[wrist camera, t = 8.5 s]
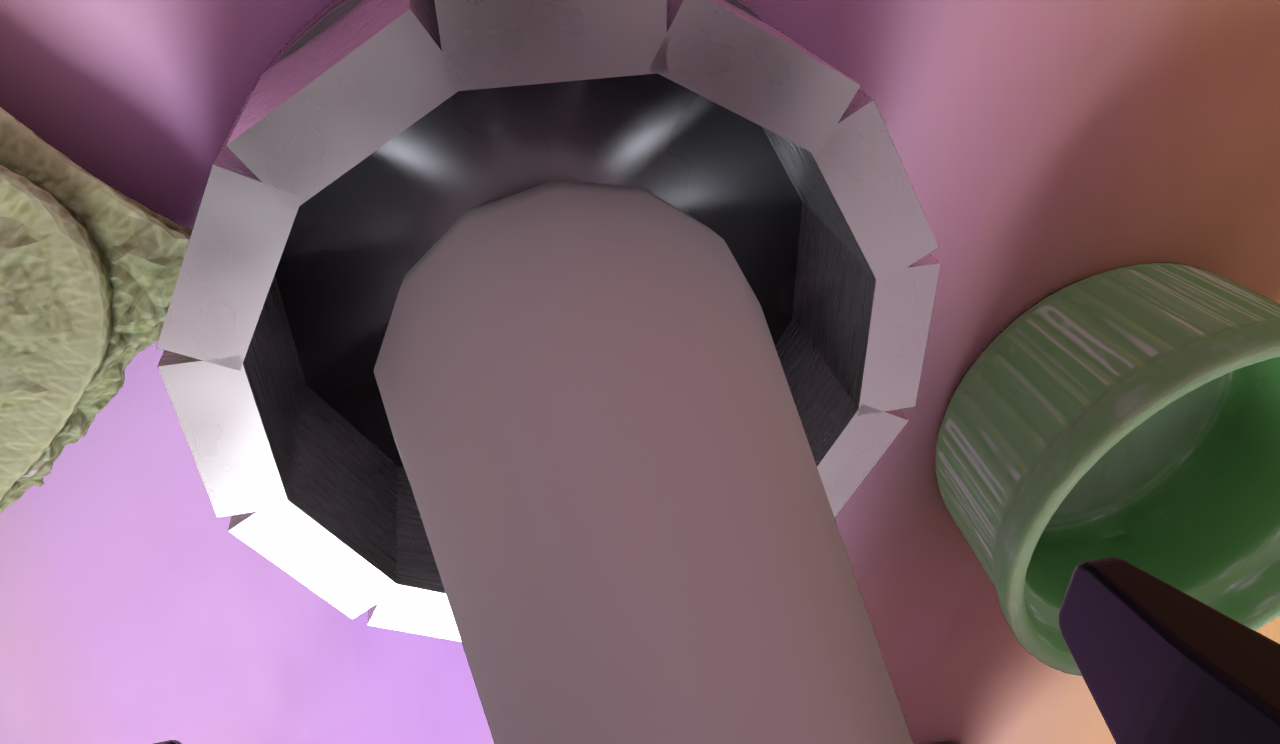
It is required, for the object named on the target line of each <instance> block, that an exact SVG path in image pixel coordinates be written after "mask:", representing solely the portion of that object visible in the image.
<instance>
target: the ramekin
mask: <svg viewBox="0 0 1280 744" xmlns="http://www.w3.org/2000/svg"><path fill="white" fill-rule="evenodd" d="M935 471H936V477H937V482H938V488H939V491H940V494H941V497H942V499H943V501H944V504H945V506H946V508H947V509H948V511H949V513H950V515H951V517H952V518H953V520H954V522H955V523H956V525H957V526H958V528H959V530H960V531H961V533H962V534H963V536H964V538H965V539H966V541H967V543H968V544H969V546H970V547H971V549H972V551H973V552H974V554H975V555H976V557H977V559H978V560H979V562H980V564H981V565H982V567H983V569H984V570H985V572H986V573H987V575H988V577H989V578H990V580H991V582H992V583H993V585H994V587H995V589H996V590H997V596H998V601H999V604H1000V607H1001V610H1002V612H1003V614H1004V617H1005V619H1006V621H1007V623H1008V625H1009V627H1010V629H1011V631H1012V632H1013V634H1014V635H1015V637H1016V639H1017V640H1018V641H1019V643H1020V644H1021V645H1022V646H1023V647H1024V648H1025V649H1026V651H1027V652H1029V653H1030V654H1031V655H1032V656H1034V657H1035V658H1036V659H1038V660H1039V661H1040V662H1042V663H1044V664H1046V665H1048V666H1050V667H1051V668H1054V669H1057V670H1060V671H1062V672H1065V673H1068V674H1073V675H1080V676H1082V674H1081V672H1080V670H1079V668H1078V666H1077V664H1076V663H1075V661H1074V659H1073V657H1072V655H1071V653H1070V651H1069V649H1068V647H1067V645H1066V643H1065V641H1064V639H1063V636H1062V634H1061V630H1060V627H1059V611H1060V608H1061V605H1062V602H1063V599H1064V596H1065V593H1066V590H1067V587H1068V585H1069V582H1070V579H1071V576H1072V573H1073V571H1074V569H1075V567H1076V566H1077V565H1078V564H1080V563H1082V562H1085V561H1090V560H1095V559H1100V558H1105V557H1116V558H1120V559H1122V560H1125V561H1127V562H1129V563H1131V564H1132V565H1134V566H1136V567H1138V568H1140V569H1142V570H1144V571H1145V572H1147V573H1149V574H1151V575H1153V576H1155V577H1156V578H1158V579H1160V580H1162V581H1164V582H1166V583H1168V584H1169V585H1171V586H1173V587H1175V588H1177V589H1179V590H1180V591H1182V592H1184V593H1186V594H1188V595H1190V596H1192V597H1193V598H1195V599H1197V600H1199V601H1201V602H1203V603H1204V604H1206V605H1208V606H1210V607H1212V608H1214V609H1216V610H1217V611H1219V612H1221V613H1223V614H1225V615H1227V616H1228V617H1230V618H1232V619H1234V620H1236V621H1238V622H1240V623H1241V624H1243V625H1245V626H1247V627H1249V628H1251V629H1252V630H1254V631H1255V630H1257V629H1259V628H1261V627H1262V626H1264V625H1265V624H1266V623H1268V622H1270V621H1272V620H1274V619H1275V618H1277V617H1278V616H1280V304H1278V303H1276V302H1274V301H1272V300H1270V299H1268V298H1266V297H1264V296H1262V295H1260V294H1257V293H1255V292H1253V291H1251V290H1249V289H1247V288H1245V287H1243V286H1241V285H1239V284H1237V283H1235V282H1233V281H1230V280H1228V279H1226V278H1224V277H1221V276H1219V275H1217V274H1214V273H1212V272H1210V271H1206V270H1202V269H1197V268H1194V267H1192V266H1189V265H1182V264H1172V263H1151V264H1137V265H1132V266H1127V267H1122V268H1117V269H1114V270H1110V271H1107V272H1103V273H1100V274H1097V275H1094V276H1091V277H1088V278H1086V279H1083V280H1081V281H1079V282H1076V283H1074V284H1071V285H1069V286H1067V287H1065V288H1063V289H1061V290H1059V291H1057V292H1055V293H1053V294H1051V295H1049V296H1048V297H1046V298H1045V299H1043V300H1042V301H1040V302H1039V303H1037V304H1036V305H1034V306H1033V307H1031V308H1030V309H1029V310H1027V311H1026V312H1025V313H1024V314H1022V315H1020V316H1019V317H1018V318H1017V319H1016V320H1014V321H1013V322H1012V323H1011V324H1010V325H1009V326H1008V327H1007V328H1006V329H1005V330H1004V331H1003V332H1002V333H1000V334H999V335H998V336H997V337H996V338H995V339H994V340H993V341H992V342H991V343H990V345H989V346H988V347H987V348H986V349H985V350H984V351H983V352H982V353H981V355H980V356H979V357H978V358H977V360H976V361H975V362H974V363H973V365H972V366H971V367H970V369H969V370H968V372H967V373H966V375H965V376H964V378H963V379H962V381H961V382H960V384H959V386H958V387H957V389H956V391H955V392H954V394H953V396H952V398H951V400H950V402H949V405H948V407H947V410H946V412H945V415H944V418H943V421H942V424H941V427H940V429H939V432H938V439H937V444H936V461H935Z"/></svg>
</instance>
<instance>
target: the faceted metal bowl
mask: <svg viewBox="0 0 1280 744" xmlns="http://www.w3.org/2000/svg"><path fill="white" fill-rule="evenodd" d="M860 86H861V85H860V84H858V83H857V82H855V81H854V80H852V79H851V78H849V77H848V76H846V75H845V74H843V73H842V72H840V71H839V70H837V69H836V68H834V67H833V66H831V65H830V64H828V63H827V62H825V61H824V60H822V59H821V58H819V57H818V56H816V55H815V54H813V53H811V52H810V51H808V50H807V49H805V48H804V47H802V46H801V45H799V44H798V43H796V42H795V41H793V40H792V39H790V38H789V37H787V36H786V35H784V34H783V33H781V32H780V31H778V30H776V29H774V28H773V27H771V26H769V25H767V24H766V23H764V22H763V21H762V20H761V19H760V18H759V17H757V16H756V15H755V14H754V13H753V12H752V11H751V10H749V9H748V8H746V7H745V6H743V5H742V4H740V3H739V2H738V1H736V0H333V1H332V2H331V3H329V4H328V5H327V6H326V7H325V8H324V9H323V10H321V11H320V12H319V13H318V14H317V15H316V16H315V17H314V18H312V19H311V20H310V21H309V22H308V23H307V24H306V25H305V26H303V27H302V28H301V29H300V30H299V31H298V32H297V33H296V34H295V36H294V37H293V38H292V39H291V40H290V42H289V43H288V44H287V45H286V46H285V48H284V49H283V50H282V51H281V52H280V54H279V55H278V56H277V57H276V58H275V60H274V61H273V62H272V63H271V64H270V66H269V67H268V69H267V70H266V72H265V73H263V74H262V75H261V77H260V79H259V81H258V83H257V85H256V87H255V89H254V91H250V93H249V95H248V97H247V99H246V100H245V102H244V104H243V106H242V108H241V110H240V112H239V114H238V116H237V118H236V120H235V122H234V124H233V126H232V128H231V130H230V132H229V134H228V136H227V138H226V140H225V142H224V144H223V145H222V147H221V149H220V151H219V153H218V155H217V157H216V159H215V161H214V163H213V165H212V169H211V172H210V175H209V178H208V182H207V185H206V188H205V191H204V195H203V198H202V201H201V204H200V208H199V211H198V214H197V217H196V221H195V224H194V227H193V230H192V234H191V237H190V240H189V243H188V247H187V250H186V253H185V256H184V260H183V263H182V266H181V269H180V273H179V276H178V279H177V282H176V286H175V289H174V292H173V295H172V299H171V302H170V305H169V308H168V312H167V315H166V318H165V321H164V325H163V328H162V331H161V334H160V338H159V341H158V344H157V347H156V348H160V349H163V350H164V352H163V355H162V357H161V359H160V362H159V364H158V366H157V367H158V369H159V372H160V374H161V377H162V380H163V382H164V385H165V387H166V390H167V392H168V395H169V397H170V400H171V402H172V405H173V407H174V410H175V412H176V415H177V418H178V420H179V423H180V425H181V428H182V430H183V433H184V435H185V438H186V440H187V443H188V445H189V448H190V450H191V453H192V455H193V458H194V461H195V463H196V466H197V468H198V471H199V473H200V476H201V478H202V481H203V483H204V486H205V488H206V491H207V493H208V496H209V498H210V501H211V504H212V506H213V509H214V511H215V514H216V516H217V518H220V517H226V516H232V517H231V521H230V525H229V529H228V531H229V532H230V533H232V534H233V535H234V536H236V537H237V538H239V539H240V540H241V541H243V542H244V543H246V544H247V545H248V546H250V547H251V548H253V549H254V550H256V551H257V552H258V553H260V554H261V555H263V556H264V557H265V558H267V559H268V560H270V561H271V562H272V563H274V564H275V565H277V566H278V567H280V568H281V569H282V570H284V571H285V572H287V573H288V574H289V575H291V576H292V577H294V578H295V579H296V580H298V581H299V582H301V583H302V584H304V585H305V586H306V587H308V588H309V589H311V590H312V591H313V592H315V593H316V594H318V595H319V596H320V597H322V598H323V599H325V600H326V601H328V602H329V603H330V604H332V605H333V606H335V607H336V608H337V609H339V610H340V611H342V612H343V613H344V614H346V615H347V616H349V617H350V618H352V619H353V618H355V617H357V616H358V615H360V614H361V613H363V612H365V611H366V610H368V625H370V626H375V627H381V628H387V629H392V630H398V631H404V632H409V633H415V634H421V635H426V636H432V637H438V638H444V639H449V640H455V641H461V639H460V636H459V633H458V629H457V626H456V623H455V620H454V617H453V614H452V611H451V608H450V605H449V602H448V599H447V596H446V593H445V589H444V586H443V583H442V580H441V577H440V574H439V571H438V568H437V565H436V562H435V559H434V556H433V553H432V549H431V546H430V543H429V540H428V537H427V534H426V531H425V528H424V525H423V522H422V519H421V516H420V513H419V509H418V506H417V503H416V500H415V497H414V494H413V491H412V488H411V485H410V482H409V480H408V477H407V474H406V471H405V468H404V466H403V463H402V460H401V457H400V455H399V452H398V449H397V446H396V443H395V440H394V437H393V434H392V430H391V427H390V424H389V420H388V417H387V414H386V411H385V407H384V404H383V401H382V397H381V394H380V391H379V387H378V384H377V381H376V378H375V374H374V368H375V364H376V361H377V358H378V355H379V352H380V349H381V346H382V343H383V339H384V336H385V333H386V330H387V327H388V324H389V321H390V318H391V314H392V311H393V308H394V305H395V302H396V299H397V296H398V292H399V290H400V287H401V284H402V281H403V279H404V276H405V275H406V273H407V272H408V271H409V270H410V269H411V268H412V267H413V266H414V265H415V264H416V263H417V262H418V261H419V260H420V259H421V258H422V257H423V256H424V255H425V253H426V252H427V251H428V250H429V249H430V248H431V247H432V246H433V245H434V244H435V243H436V242H437V241H438V240H439V239H440V238H441V237H442V236H443V234H444V233H445V232H446V231H447V230H448V229H449V228H450V227H451V226H452V225H453V224H454V223H455V222H456V221H457V220H458V219H459V218H460V217H461V216H462V214H463V213H464V212H466V211H468V210H470V209H472V208H474V207H476V206H478V205H480V204H482V203H485V202H487V201H494V200H500V199H503V198H506V197H509V196H512V195H514V194H517V193H520V192H523V191H525V190H528V189H531V188H534V187H537V186H539V185H542V184H545V183H548V182H551V181H566V182H581V183H596V184H610V185H625V186H640V187H643V188H644V189H646V190H648V191H649V192H651V193H653V194H654V195H656V196H658V197H659V198H661V199H662V200H664V201H666V202H667V203H669V204H671V205H672V206H674V207H676V208H677V209H679V210H681V211H682V212H684V213H686V214H687V215H689V216H691V217H692V218H694V219H696V220H697V221H699V222H701V223H702V224H704V225H706V226H707V227H709V228H710V229H711V230H713V231H714V232H715V233H716V234H718V235H719V236H720V237H721V238H723V239H724V240H725V242H726V244H727V246H728V248H729V249H730V251H731V253H732V255H733V256H734V258H735V260H736V262H737V264H738V265H739V267H740V269H741V271H742V273H743V274H744V276H745V278H746V280H747V282H748V283H749V285H750V287H751V289H752V290H753V292H754V294H755V296H756V298H757V299H758V301H759V303H760V305H761V308H762V311H763V313H764V316H765V319H766V322H767V325H768V328H769V331H770V334H771V336H772V339H773V342H774V345H775V348H776V351H777V354H778V357H779V359H780V362H781V365H782V368H783V371H784V374H785V377H786V379H787V382H788V385H789V388H790V391H791V394H792V397H793V400H794V402H795V405H796V408H797V411H798V414H799V417H800V420H801V423H802V425H803V428H804V431H805V434H806V437H807V440H808V443H809V446H810V448H811V451H812V454H813V457H814V460H815V463H816V466H817V469H818V471H819V474H820V477H821V480H822V483H823V486H824V489H825V492H826V494H827V497H828V500H829V503H830V506H831V509H832V512H833V515H834V517H836V515H837V514H838V513H839V511H840V510H841V509H842V508H843V506H844V505H845V504H846V502H847V501H848V500H849V498H850V497H851V496H852V494H853V493H854V492H855V490H856V489H857V488H858V487H859V485H860V484H861V483H862V481H863V480H864V479H865V477H866V476H867V475H868V473H869V472H870V471H871V469H872V468H873V467H874V466H875V464H876V463H877V462H878V460H879V459H880V458H881V456H882V455H883V454H884V452H885V451H886V450H887V448H888V447H889V446H890V445H891V443H892V442H893V441H894V439H895V438H896V437H897V435H898V434H899V433H900V431H901V430H902V429H903V427H904V426H905V425H906V424H907V422H908V419H907V418H906V417H905V416H904V414H903V413H902V412H901V410H900V409H904V408H910V407H915V405H916V399H917V394H918V388H919V383H920V377H921V371H922V366H923V360H924V355H925V349H926V343H927V338H928V332H929V327H930V321H931V316H932V310H933V304H934V299H935V293H936V288H937V282H938V276H939V271H940V265H941V263H940V262H939V261H938V260H937V259H935V258H934V257H933V256H932V255H931V254H930V252H932V251H934V250H935V249H937V248H938V247H939V245H938V243H937V241H936V239H935V236H934V234H933V232H932V230H931V227H930V225H929V223H928V221H927V218H926V216H925V214H924V212H923V209H922V207H921V205H920V203H919V200H918V198H917V196H916V194H915V191H914V189H913V187H912V185H911V182H910V180H909V178H908V175H907V173H906V171H905V169H904V166H903V164H902V162H901V160H900V157H899V155H898V153H897V151H896V148H895V146H894V144H893V142H892V139H891V137H890V135H889V133H888V130H887V128H886V126H885V124H884V121H883V119H882V117H881V115H880V112H879V110H878V108H877V106H876V103H875V101H874V99H872V98H871V97H869V96H868V95H866V94H865V93H863V92H862V91H860V90H859V88H860Z"/></svg>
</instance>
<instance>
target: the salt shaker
mask: <svg viewBox="0 0 1280 744" xmlns="http://www.w3.org/2000/svg"><path fill="white" fill-rule="evenodd" d="M374 374H375V378H376V381H377V384H378V387H379V391H380V394H381V397H382V401H383V404H384V407H385V411H386V414H387V417H388V420H389V424H390V427H391V430H392V434H393V437H394V440H395V443H396V446H397V449H398V452H399V455H400V457H401V460H402V463H403V466H404V468H405V471H406V474H407V477H408V480H409V482H410V485H411V488H412V491H413V494H414V497H415V500H416V503H417V506H418V509H419V513H420V516H421V519H422V522H423V525H424V528H425V531H426V534H427V537H428V540H429V543H430V546H431V549H432V553H433V556H434V559H435V562H436V565H437V568H438V571H439V574H440V577H441V580H442V583H443V586H444V589H445V593H446V596H447V599H448V602H449V605H450V608H451V611H452V614H453V617H454V620H455V623H456V626H457V629H458V633H459V636H460V639H461V642H462V645H463V648H464V651H465V654H466V657H467V660H468V663H469V666H470V670H471V673H472V676H473V679H474V682H475V685H476V688H477V691H478V694H479V697H480V700H481V703H482V706H483V710H484V713H485V716H486V719H487V722H488V725H489V728H490V731H491V734H492V737H493V740H494V743H495V744H913V741H912V739H911V736H910V733H909V730H908V727H907V724H906V721H905V718H904V716H903V713H902V710H901V707H900V704H899V701H898V698H897V695H896V693H895V690H894V687H893V684H892V681H891V678H890V675H889V672H888V670H887V667H886V664H885V661H884V658H883V655H882V652H881V650H880V647H879V644H878V641H877V638H876V635H875V632H874V629H873V627H872V624H871V621H870V618H869V615H868V612H867V609H866V606H865V604H864V601H863V598H862V595H861V592H860V589H859V586H858V583H857V581H856V578H855V575H854V572H853V569H852V566H851V563H850V560H849V558H848V555H847V552H846V549H845V546H844V543H843V540H842V537H841V535H840V532H839V529H838V526H837V523H836V520H835V517H834V515H833V512H832V509H831V506H830V503H829V500H828V497H827V494H826V492H825V489H824V486H823V483H822V480H821V477H820V474H819V471H818V469H817V466H816V463H815V460H814V457H813V454H812V451H811V448H810V446H809V443H808V440H807V437H806V434H805V431H804V428H803V425H802V423H801V420H800V417H799V414H798V411H797V408H796V405H795V402H794V400H793V397H792V394H791V391H790V388H789V385H788V382H787V379H786V377H785V374H784V371H783V368H782V365H781V362H780V359H779V357H778V354H777V351H776V348H775V345H774V342H773V339H772V336H771V334H770V331H769V328H768V325H767V322H766V319H765V316H764V313H763V311H762V308H761V305H760V303H759V301H758V299H757V298H756V296H755V294H754V292H753V290H752V289H751V287H750V285H749V283H748V282H747V280H746V278H745V276H744V274H743V273H742V271H741V269H740V267H739V265H738V264H737V262H736V260H735V258H734V256H733V255H732V253H731V251H730V249H729V248H728V246H727V244H726V242H725V240H724V239H723V238H721V237H720V236H719V235H718V234H716V233H715V232H714V231H713V230H711V229H710V228H709V227H707V226H706V225H704V224H702V223H701V222H699V221H697V220H696V219H694V218H692V217H691V216H689V215H687V214H686V213H684V212H682V211H681V210H679V209H677V208H676V207H674V206H672V205H671V204H669V203H667V202H666V201H664V200H662V199H661V198H659V197H658V196H656V195H654V194H653V193H651V192H649V191H648V190H646V189H644V188H643V187H640V186H625V185H610V184H596V183H581V182H566V181H551V182H548V183H545V184H542V185H539V186H537V187H534V188H531V189H528V190H525V191H523V192H520V193H517V194H514V195H512V196H509V197H506V198H503V199H500V200H494V201H487V202H485V203H482V204H480V205H478V206H476V207H474V208H472V209H470V210H468V211H466V212H464V213H463V214H462V216H461V217H460V218H459V219H458V220H457V221H456V222H455V223H454V224H453V225H452V226H451V227H450V228H449V229H448V230H447V231H446V232H445V233H444V234H443V236H442V237H441V238H440V239H439V240H438V241H437V242H436V243H435V244H434V245H433V246H432V247H431V248H430V249H429V250H428V251H427V252H426V253H425V255H424V256H423V257H422V258H421V259H420V260H419V261H418V262H417V263H416V264H415V265H414V266H413V267H412V268H411V269H410V270H409V271H408V272H407V273H406V275H405V276H404V279H403V281H402V284H401V287H400V290H399V292H398V296H397V299H396V302H395V305H394V308H393V311H392V314H391V318H390V321H389V324H388V327H387V330H386V333H385V336H384V339H383V343H382V346H381V349H380V352H379V355H378V358H377V361H376V364H375V368H374Z"/></svg>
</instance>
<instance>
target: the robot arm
mask: <svg viewBox="0 0 1280 744" xmlns="http://www.w3.org/2000/svg"><path fill="white" fill-rule="evenodd" d="M1059 627H1060V630H1061V634H1062V636H1063V639H1064V641H1065V643H1066V645H1067V647H1068V649H1069V651H1070V653H1071V655H1072V657H1073V659H1074V661H1075V663H1076V664H1077V666H1078V668H1079V670H1080V672H1081V674H1082V676H1083V678H1084V680H1085V682H1086V684H1087V686H1088V688H1089V690H1090V692H1091V694H1092V696H1093V698H1094V700H1095V702H1096V704H1097V706H1098V708H1099V710H1100V712H1101V714H1102V716H1103V718H1104V720H1105V722H1106V724H1107V726H1108V728H1109V730H1110V732H1111V734H1112V736H1113V738H1114V740H1115V742H1116V744H1280V644H1278V643H1276V642H1275V641H1273V640H1271V639H1269V638H1267V637H1265V636H1264V635H1262V634H1260V633H1258V632H1256V631H1254V630H1252V629H1251V628H1249V627H1247V626H1245V625H1243V624H1241V623H1240V622H1238V621H1236V620H1234V619H1232V618H1230V617H1228V616H1227V615H1225V614H1223V613H1221V612H1219V611H1217V610H1216V609H1214V608H1212V607H1210V606H1208V605H1206V604H1204V603H1203V602H1201V601H1199V600H1197V599H1195V598H1193V597H1192V596H1190V595H1188V594H1186V593H1184V592H1182V591H1180V590H1179V589H1177V588H1175V587H1173V586H1171V585H1169V584H1168V583H1166V582H1164V581H1162V580H1160V579H1158V578H1156V577H1155V576H1153V575H1151V574H1149V573H1147V572H1145V571H1144V570H1142V569H1140V568H1138V567H1136V566H1134V565H1132V564H1131V563H1129V562H1127V561H1125V560H1122V559H1120V558H1116V557H1105V558H1100V559H1095V560H1090V561H1085V562H1082V563H1080V564H1078V565H1077V566H1076V567H1075V569H1074V571H1073V573H1072V576H1071V579H1070V582H1069V585H1068V587H1067V590H1066V593H1065V596H1064V599H1063V602H1062V605H1061V608H1060V611H1059ZM154 744H182V743H180V742H178V741H176V740H169V741H164V742H159V743H154Z"/></svg>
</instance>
